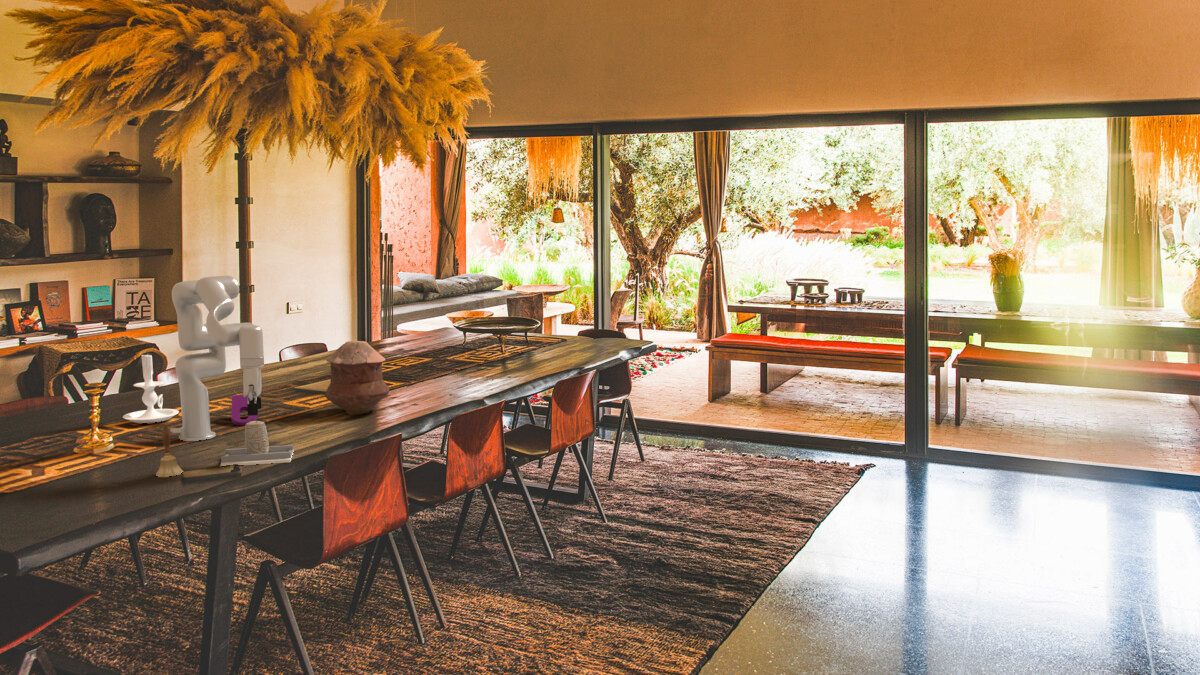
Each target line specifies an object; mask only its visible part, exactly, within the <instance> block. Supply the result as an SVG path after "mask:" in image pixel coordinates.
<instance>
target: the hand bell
mask: <svg viewBox="0 0 1200 675" xmlns="http://www.w3.org/2000/svg"><path fill="white" fill-rule="evenodd" d="M170 430H171V429H170V428H169V426H168V425H167V424H166V425H165V424H164V425H163V427H162V430H161V438H162V442H163V445H164V455H163V457H161V458H160V464H159V468H158V470H157V471H156V473H155V474H156V476H158V477H157V478H170V477H169V476H172V477H176V475H177V476H180V475H182V474H183V473H184V469H182V468H181V467H180V466H179V465H178V461H177V459H176V456H174V455H172V454H171V446H170V445H171V437H172V436H171V431H170ZM182 472H183V473H182ZM181 473H182V474H181ZM156 476H155V477H156Z"/></svg>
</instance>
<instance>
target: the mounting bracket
mask: <svg viewBox="0 0 1200 675" xmlns="http://www.w3.org/2000/svg"><path fill="white" fill-rule="evenodd" d="M247 404H248V395H247V396H246V397H244V395H243V394H239V395H232V396H231V413H230V414H231V418H230V419H231V422H232V423H233V424H234V425H235V426H238V425H244V426H245V424H246V423H248V422H251V421H257V419H258V417H259V414H258V415H251V416H249V415H248V414H247V418H245V419H243V418H242V419H241V413H242V412H245V411H246V412H248V410H247Z"/></svg>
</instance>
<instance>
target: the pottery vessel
mask: <svg viewBox="0 0 1200 675" xmlns="http://www.w3.org/2000/svg"><path fill="white" fill-rule="evenodd" d="M325 361H326V362H328V363H330V379H329V380H330V383H329V385H328V387H327V388H326V391H325V394H324V396H325V399H327V400H328V401H329V402H331V403H332V404H334V405H335V406H337V407H339V408H340V409H342V410H343V411H345V412H346V414H347V415H364V413H365V414H368V413H370V412H372V409H373V408H374V407H375V406H376V405H377V404H379V403H380V402H381V400H383V399H384V398H386V397H387V396H388V395H389V393H390V389H389V387H388V385H387V383H386V382H385V381H384V379H383V362H385V361H386V358H385V357H384V356H382V355H381V353H379V352H378V351H377V350H376V349H374V348H373V347H372V346H371V345H370V344H369V343H368V342H367V341H363V340H349V341H345V343H343V344H342V345H340V346H339V347H338V348H337V349H336V351H334V352H333V353H332V354H330V356H329V355H328V356H327V357H326V359H325Z"/></svg>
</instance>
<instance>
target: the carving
mask: <svg viewBox="0 0 1200 675" xmlns="http://www.w3.org/2000/svg"><path fill="white" fill-rule="evenodd" d="M244 443H245V444H244V445H245V448H246V449H247V452H248V454H262V453H268V450H269V446H270V443H269V437H268V430H267V426H266V423H265V422H264V421H260V420H256V421H251V422H248V423H246V424H245V425H244Z"/></svg>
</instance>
